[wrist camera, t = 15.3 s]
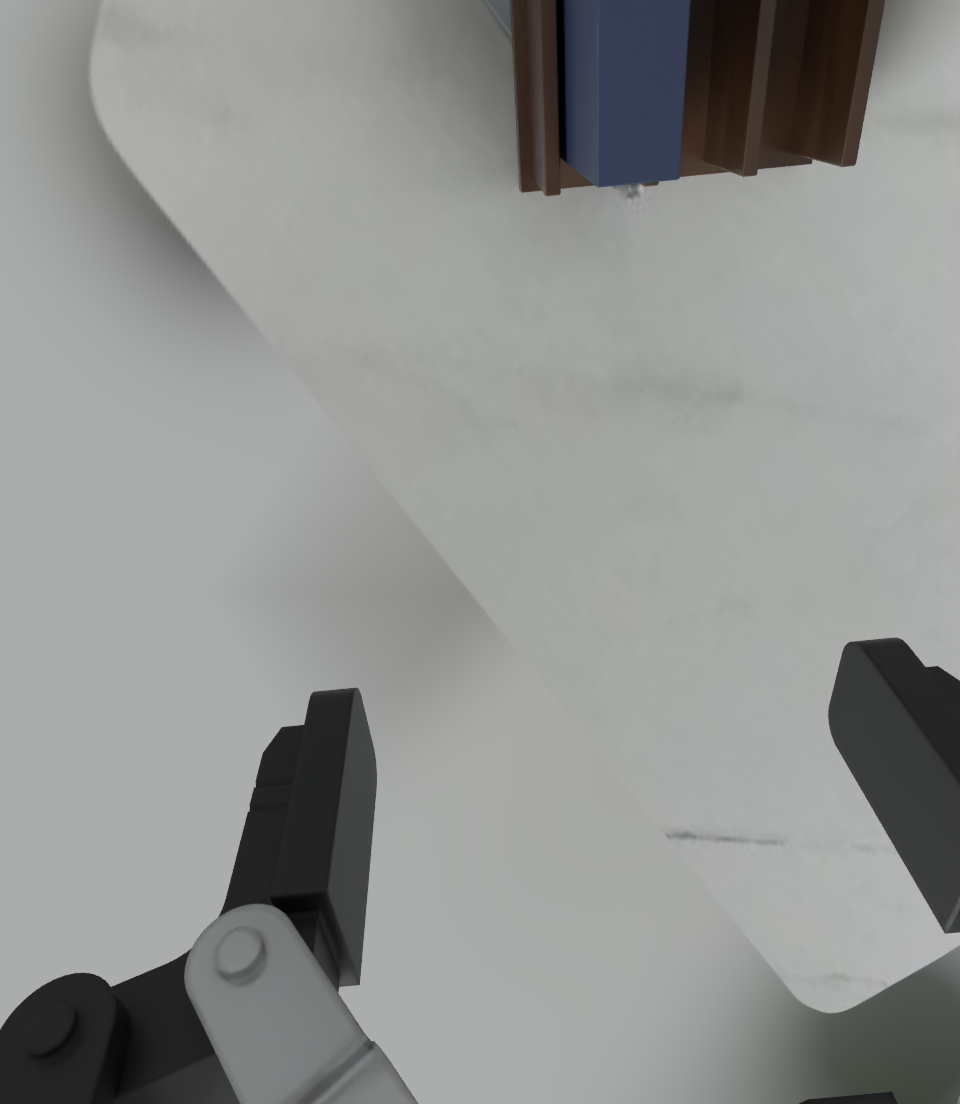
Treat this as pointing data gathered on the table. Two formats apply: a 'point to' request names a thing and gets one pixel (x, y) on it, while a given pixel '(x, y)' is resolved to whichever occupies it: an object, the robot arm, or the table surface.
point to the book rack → (723, 87)
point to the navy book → (622, 88)
